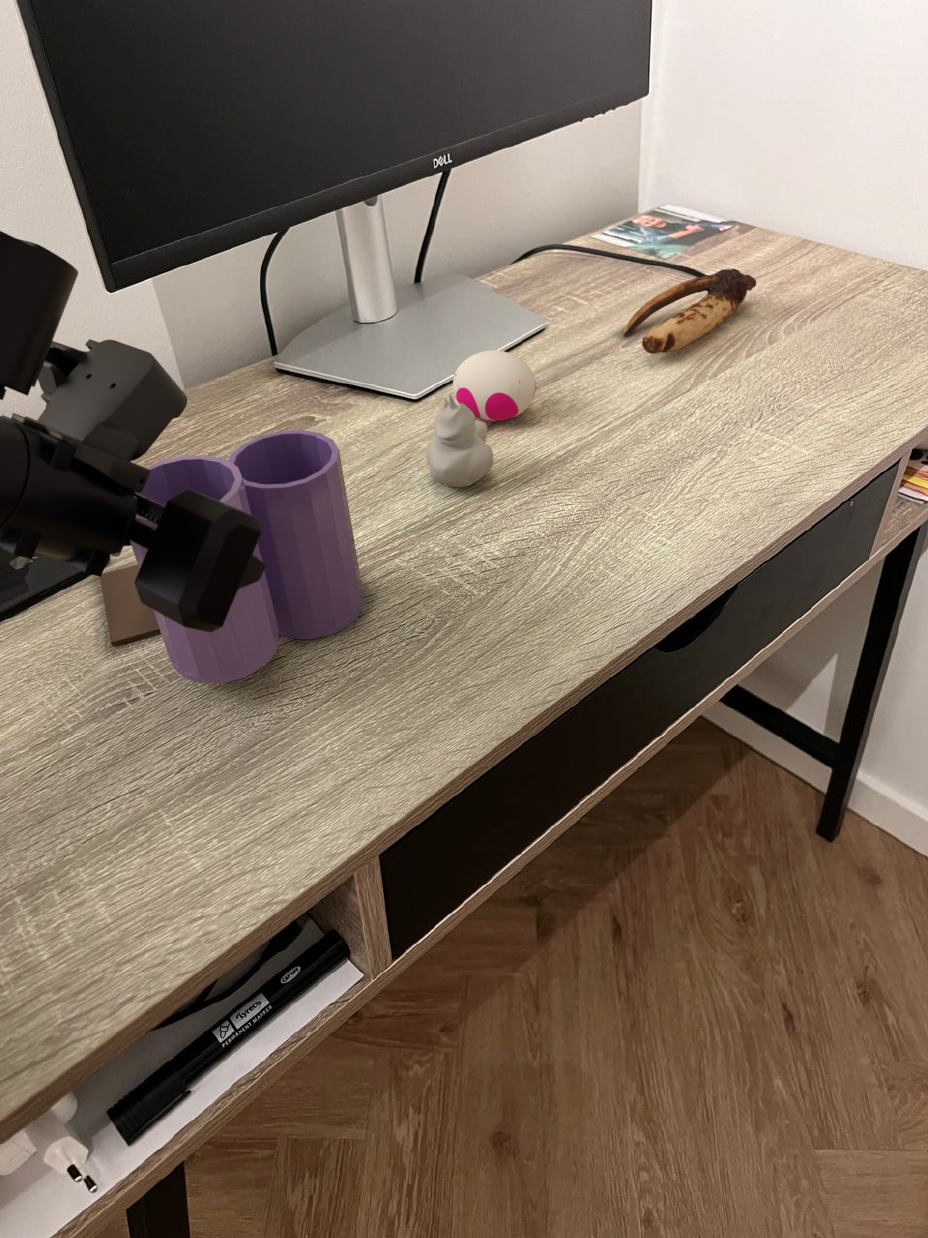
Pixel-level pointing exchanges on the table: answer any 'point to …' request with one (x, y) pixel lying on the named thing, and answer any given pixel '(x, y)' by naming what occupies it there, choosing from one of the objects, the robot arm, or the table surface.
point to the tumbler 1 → (251, 614)
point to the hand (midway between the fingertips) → (219, 552)
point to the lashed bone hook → (692, 309)
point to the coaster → (126, 607)
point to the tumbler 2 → (303, 530)
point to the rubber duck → (458, 446)
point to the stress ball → (494, 385)
